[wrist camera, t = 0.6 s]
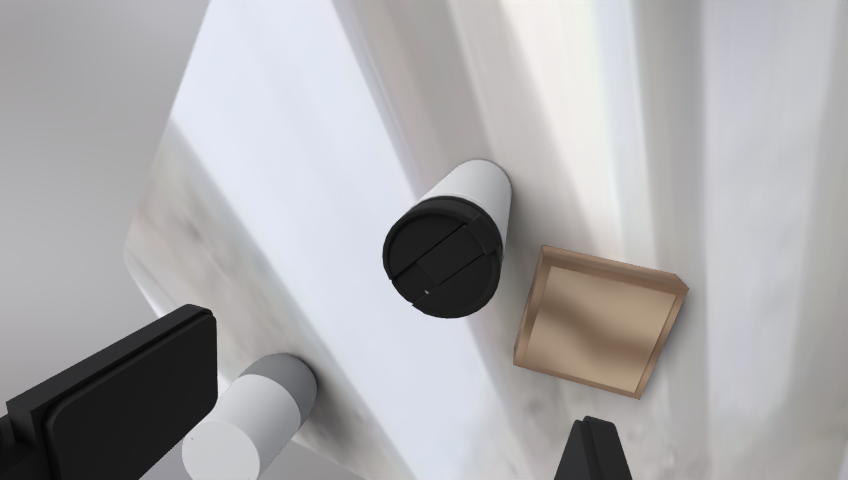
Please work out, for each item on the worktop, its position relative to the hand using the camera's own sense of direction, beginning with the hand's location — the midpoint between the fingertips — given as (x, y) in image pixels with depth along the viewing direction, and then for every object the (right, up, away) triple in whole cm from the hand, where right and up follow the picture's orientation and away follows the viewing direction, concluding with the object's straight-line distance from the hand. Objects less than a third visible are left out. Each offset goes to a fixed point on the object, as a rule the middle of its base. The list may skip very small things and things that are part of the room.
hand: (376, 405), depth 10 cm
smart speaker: (-16, -14, +41) cm, 46 cm away
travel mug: (+7, +9, +28) cm, 30 cm away
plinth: (+18, -3, +29) cm, 34 cm away
